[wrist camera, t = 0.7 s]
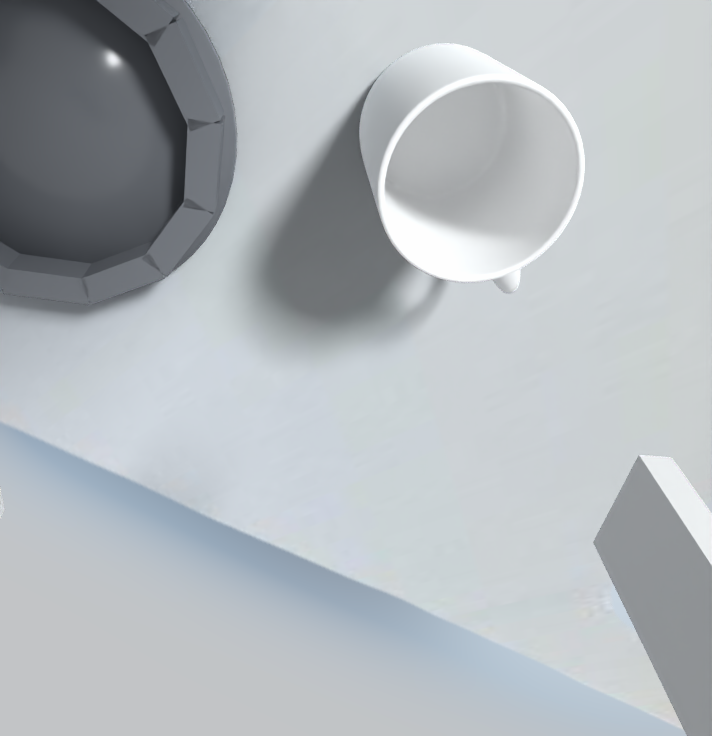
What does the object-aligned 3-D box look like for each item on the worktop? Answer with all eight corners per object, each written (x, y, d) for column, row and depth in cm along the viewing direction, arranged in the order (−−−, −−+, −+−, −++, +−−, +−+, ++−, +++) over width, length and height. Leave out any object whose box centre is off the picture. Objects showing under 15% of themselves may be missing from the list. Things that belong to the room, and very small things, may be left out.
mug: (415, 274, 40) (448, 368, 31) (330, 88, 34) (341, 138, 25) (546, 215, 38) (621, 296, 29) (483, 8, 32) (555, 31, 23)
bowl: (-198, -147, 27) (-249, -157, 24) (254, -46, 30) (250, -46, 28) (-110, 264, 37) (-139, 287, 34) (223, 307, 40) (218, 331, 38)
